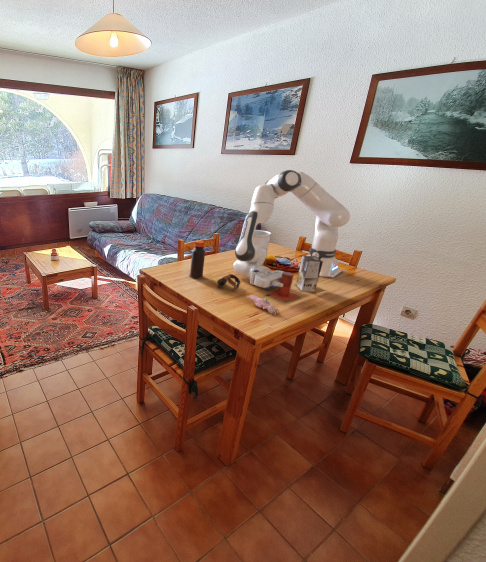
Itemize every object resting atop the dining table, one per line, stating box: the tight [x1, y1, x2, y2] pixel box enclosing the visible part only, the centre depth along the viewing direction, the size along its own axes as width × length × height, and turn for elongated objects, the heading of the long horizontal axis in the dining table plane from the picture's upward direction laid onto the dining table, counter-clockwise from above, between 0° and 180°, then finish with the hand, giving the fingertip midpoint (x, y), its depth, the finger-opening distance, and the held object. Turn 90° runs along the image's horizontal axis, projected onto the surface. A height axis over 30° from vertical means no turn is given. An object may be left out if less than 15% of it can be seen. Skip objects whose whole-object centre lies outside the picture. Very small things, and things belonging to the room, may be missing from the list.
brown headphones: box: [217, 273, 241, 292], centre depth 156 cm, size 12×10×8 cm
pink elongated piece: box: [247, 294, 281, 316], centre depth 136 cm, size 6×6×15 cm
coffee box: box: [295, 255, 323, 292], centre depth 154 cm, size 9×6×16 cm
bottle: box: [189, 240, 206, 279], centre depth 169 cm, size 7×7×20 cm
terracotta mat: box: [268, 290, 299, 302], centre depth 149 cm, size 11×9×1 cm
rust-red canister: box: [277, 271, 294, 297], centre depth 147 cm, size 5×5×11 cm
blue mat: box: [261, 285, 278, 290], centre depth 161 cm, size 10×10×1 cm
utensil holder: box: [253, 229, 272, 252], centre depth 198 cm, size 15×15×18 cm
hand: (287, 284), depth 146 cm, fingers closed on rust-red canister, 5 cm apart
